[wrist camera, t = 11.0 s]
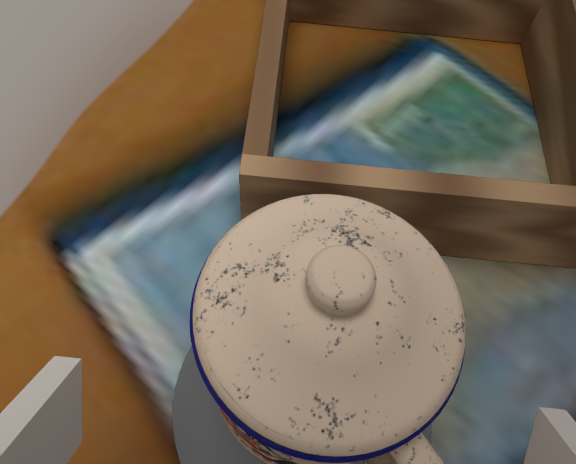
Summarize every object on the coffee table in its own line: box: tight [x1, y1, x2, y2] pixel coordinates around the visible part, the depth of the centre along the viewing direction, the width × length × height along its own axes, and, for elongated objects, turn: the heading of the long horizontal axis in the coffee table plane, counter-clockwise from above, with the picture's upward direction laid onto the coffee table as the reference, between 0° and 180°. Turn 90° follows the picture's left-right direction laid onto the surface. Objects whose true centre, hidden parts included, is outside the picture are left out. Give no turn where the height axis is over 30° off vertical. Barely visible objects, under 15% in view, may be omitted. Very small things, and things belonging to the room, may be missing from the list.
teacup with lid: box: [190, 194, 466, 464], centre depth 18 cm, size 12×9×12 cm
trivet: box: [173, 346, 431, 464], centre depth 24 cm, size 12×12×1 cm
